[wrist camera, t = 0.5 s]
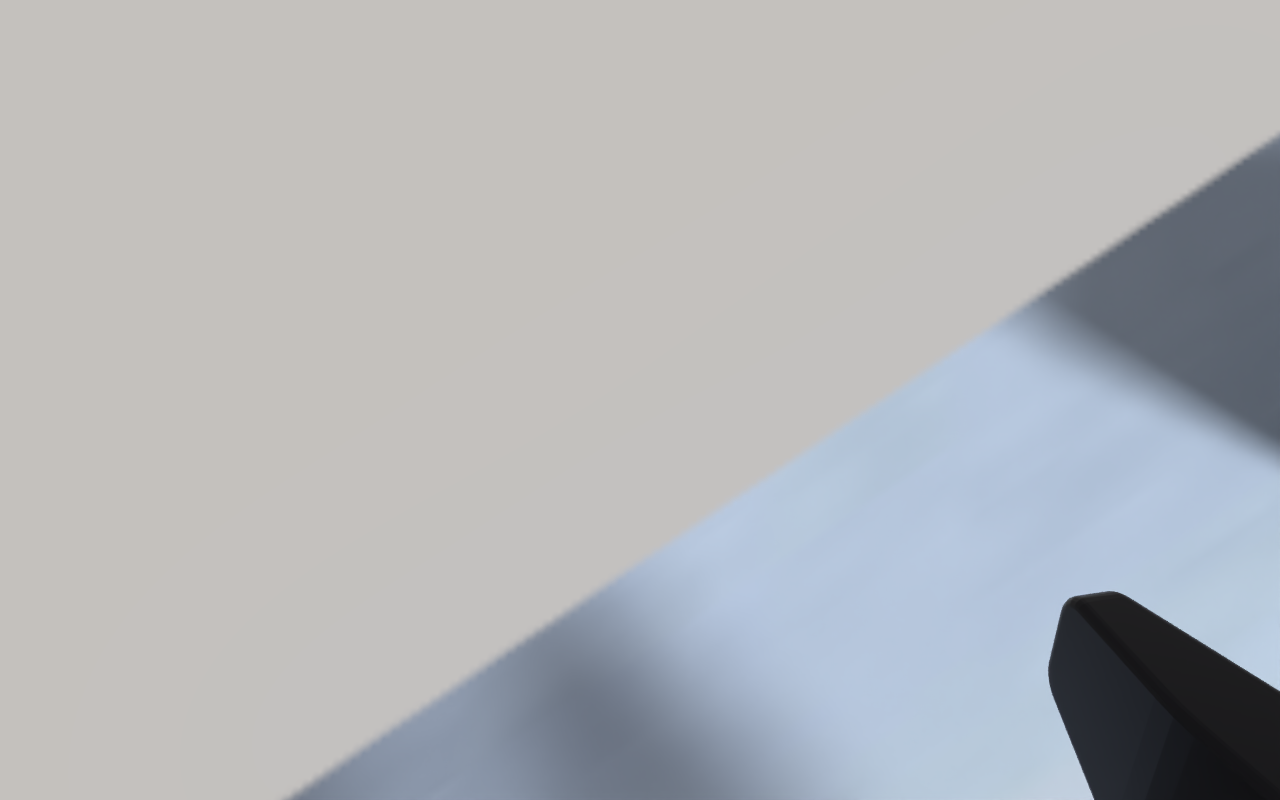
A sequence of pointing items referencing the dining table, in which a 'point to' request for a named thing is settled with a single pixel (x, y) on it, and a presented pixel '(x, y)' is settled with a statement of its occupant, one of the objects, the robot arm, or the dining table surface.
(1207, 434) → the dining table surface
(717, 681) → the dining table surface
